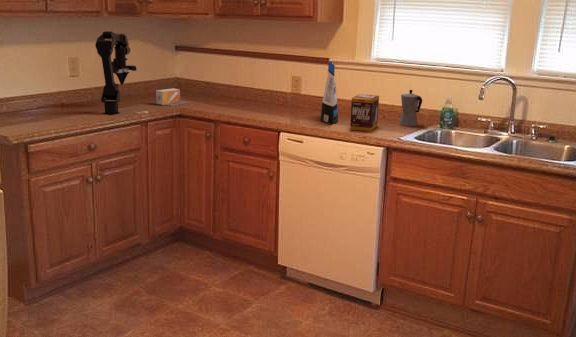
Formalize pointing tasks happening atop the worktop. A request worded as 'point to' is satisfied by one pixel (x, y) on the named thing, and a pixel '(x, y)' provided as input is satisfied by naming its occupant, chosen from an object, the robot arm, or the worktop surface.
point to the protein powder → (330, 98)
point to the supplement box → (364, 112)
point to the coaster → (141, 112)
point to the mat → (170, 104)
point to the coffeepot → (410, 109)
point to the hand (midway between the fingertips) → (121, 84)
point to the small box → (168, 96)
